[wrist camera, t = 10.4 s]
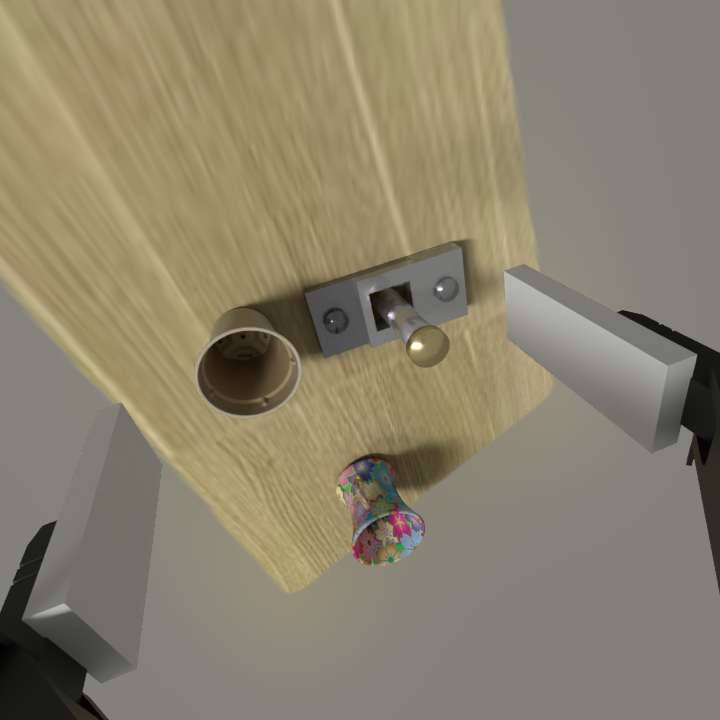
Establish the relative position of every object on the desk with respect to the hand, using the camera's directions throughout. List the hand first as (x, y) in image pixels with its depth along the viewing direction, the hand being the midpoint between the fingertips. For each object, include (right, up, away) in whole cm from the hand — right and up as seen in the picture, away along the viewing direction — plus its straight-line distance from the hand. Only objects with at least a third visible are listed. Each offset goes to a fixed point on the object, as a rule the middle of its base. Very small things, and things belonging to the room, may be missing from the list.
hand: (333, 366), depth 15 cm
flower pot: (-11, +3, +33) cm, 35 cm away
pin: (+4, +7, +35) cm, 36 cm away
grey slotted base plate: (+4, +7, +35) cm, 36 cm away
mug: (+1, -15, +47) cm, 50 cm away
